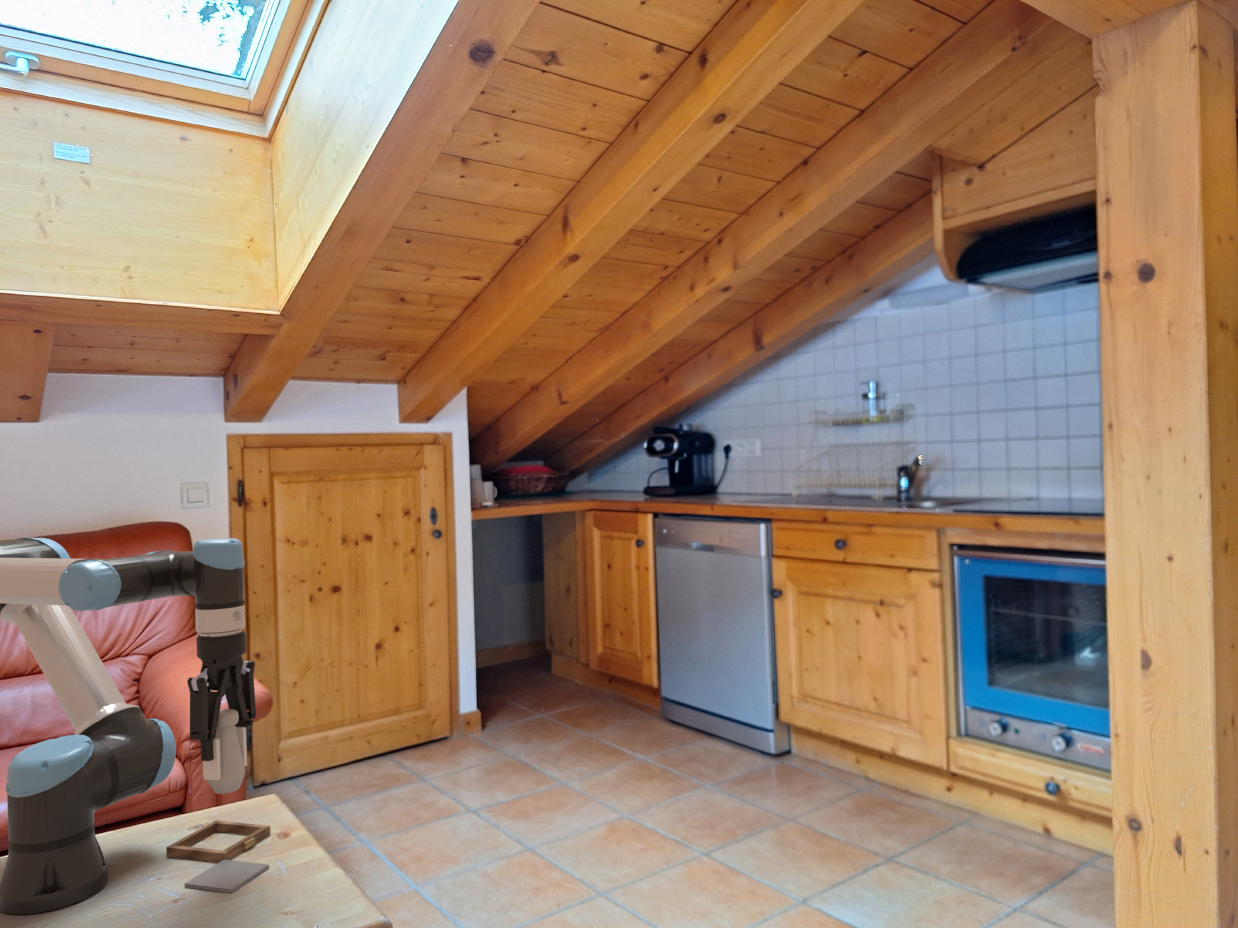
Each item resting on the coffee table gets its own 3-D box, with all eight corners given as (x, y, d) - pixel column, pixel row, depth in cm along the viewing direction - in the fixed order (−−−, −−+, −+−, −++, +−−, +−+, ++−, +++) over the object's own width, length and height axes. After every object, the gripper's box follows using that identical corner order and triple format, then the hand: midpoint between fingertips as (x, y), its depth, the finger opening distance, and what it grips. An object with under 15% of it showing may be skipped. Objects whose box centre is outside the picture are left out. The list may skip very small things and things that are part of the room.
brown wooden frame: (166, 856, 154) (166, 847, 154) (215, 828, 165) (215, 820, 165) (227, 862, 150) (226, 853, 150) (273, 834, 162) (272, 825, 162)
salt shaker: (232, 796, 143) (230, 715, 143) (199, 795, 144) (197, 715, 144) (252, 783, 149) (249, 705, 149) (220, 782, 149) (218, 705, 149)
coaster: (184, 887, 142) (184, 883, 142) (224, 862, 151) (224, 859, 151) (231, 892, 139) (231, 888, 139) (268, 867, 148) (268, 864, 148)
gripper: (200, 643, 136) (205, 794, 136) (276, 622, 154) (280, 755, 154) (159, 642, 138) (164, 791, 138) (239, 622, 156) (243, 753, 156)
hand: (225, 771), depth 146 cm, fingers closed on salt shaker, 6 cm apart
